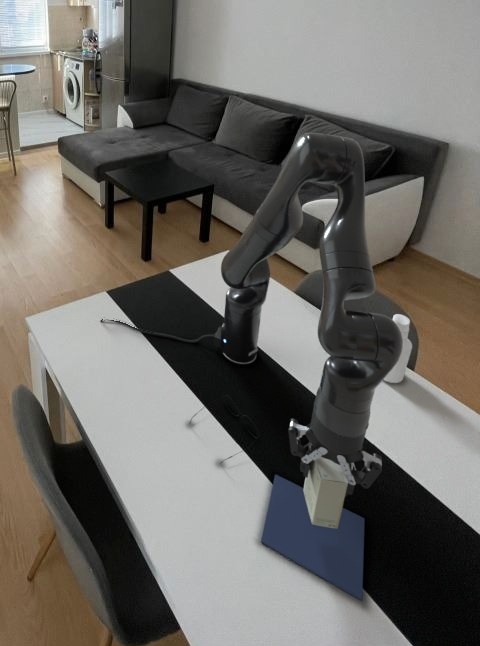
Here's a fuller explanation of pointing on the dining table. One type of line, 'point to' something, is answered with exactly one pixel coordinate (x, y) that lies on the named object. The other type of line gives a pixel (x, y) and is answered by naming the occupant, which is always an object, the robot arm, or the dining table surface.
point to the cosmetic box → (325, 492)
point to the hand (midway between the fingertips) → (324, 481)
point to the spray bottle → (400, 367)
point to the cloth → (315, 538)
